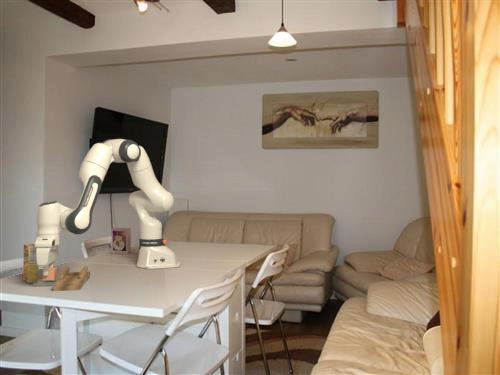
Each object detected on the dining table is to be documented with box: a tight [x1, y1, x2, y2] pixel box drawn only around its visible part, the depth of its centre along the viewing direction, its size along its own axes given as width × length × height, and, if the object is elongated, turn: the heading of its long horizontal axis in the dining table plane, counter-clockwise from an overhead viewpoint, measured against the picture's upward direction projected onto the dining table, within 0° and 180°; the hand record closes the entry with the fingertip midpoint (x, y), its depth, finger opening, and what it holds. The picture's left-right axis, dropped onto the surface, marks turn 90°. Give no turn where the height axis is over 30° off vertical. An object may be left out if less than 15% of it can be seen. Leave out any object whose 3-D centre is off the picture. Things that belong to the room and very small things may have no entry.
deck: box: [52, 265, 91, 292], centre depth 180 cm, size 10×24×6 cm, turn 12°
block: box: [42, 266, 58, 280], centre depth 179 cm, size 4×4×4 cm
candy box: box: [22, 243, 39, 284], centre depth 184 cm, size 9×4×15 cm, turn 41°
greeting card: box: [111, 227, 132, 255], centre depth 264 cm, size 11×7×15 cm, turn 73°
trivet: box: [32, 277, 59, 288], centre depth 179 cm, size 9×9×1 cm
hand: (48, 273), depth 179 cm, fingers open, 5 cm apart
